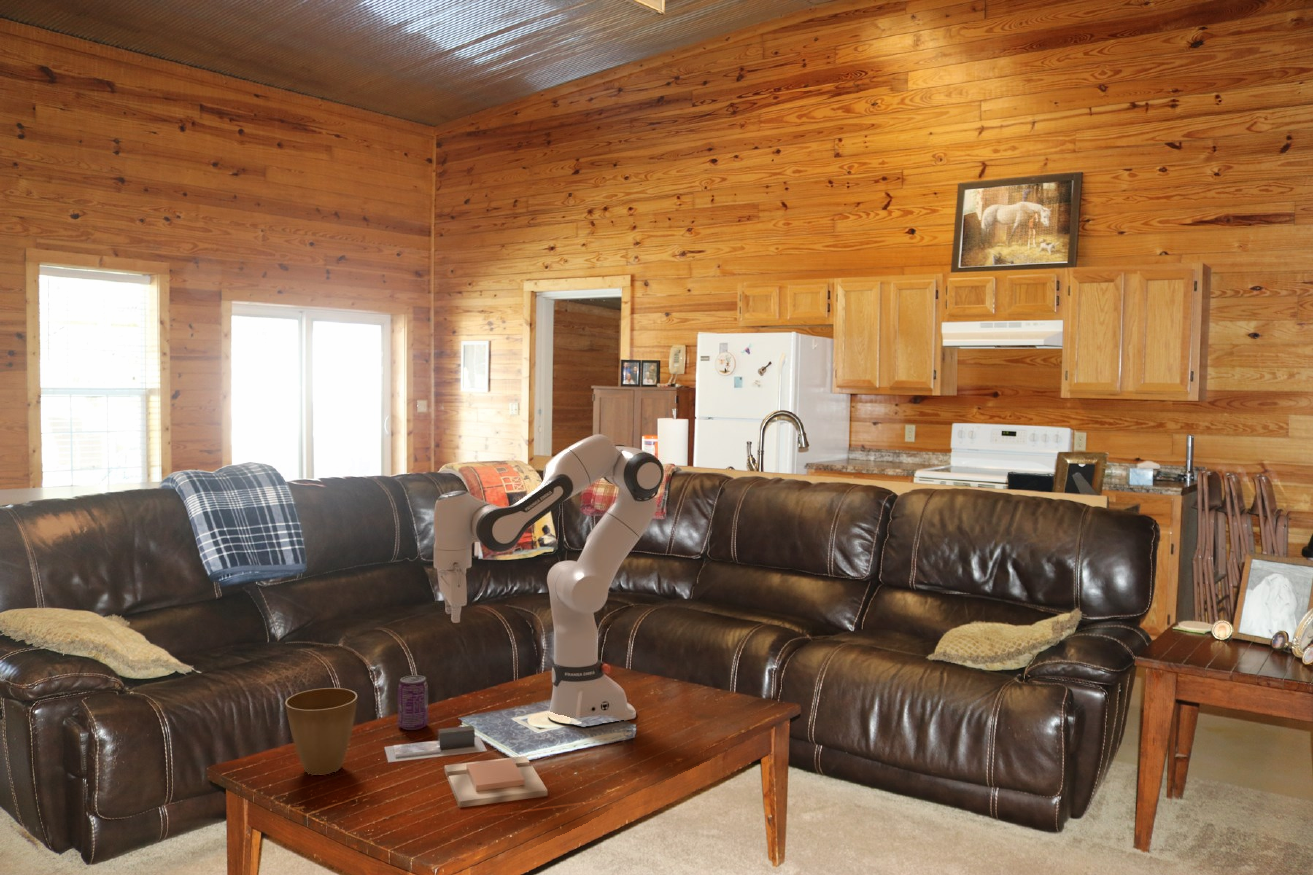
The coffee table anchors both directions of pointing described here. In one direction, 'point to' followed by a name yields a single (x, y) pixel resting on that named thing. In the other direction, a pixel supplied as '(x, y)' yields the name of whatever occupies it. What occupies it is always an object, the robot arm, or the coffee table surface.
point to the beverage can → (412, 702)
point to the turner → (439, 742)
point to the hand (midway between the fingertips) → (452, 617)
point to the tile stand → (471, 797)
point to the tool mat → (478, 748)
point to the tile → (494, 774)
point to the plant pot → (321, 727)
